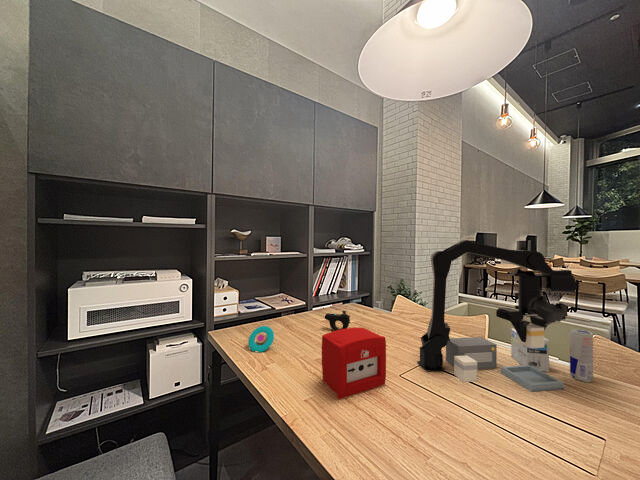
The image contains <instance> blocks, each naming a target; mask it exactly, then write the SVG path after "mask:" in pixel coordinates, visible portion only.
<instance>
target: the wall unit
mask: <svg viewBox="0 0 640 480" xmlns="http://www.w3.org/2000/svg"><path fill="white" fill-rule="evenodd" d="M449 339H450V341H449V340H448V343H447V345H446V346H445V361H446V362H447V363H448V364H449V365H451V366H452V367H453V368H454V356H464V355H467V356H469V357H470V358H472V359H474V360H475V361H477V370H484V369H485V370H488V369H497V366H498V365H497V358H498V356H497V354H498V353H497V344H496V343H494V342H492V341H490V340H489V339H486V338H484V337H482V336H477V337H475V336H473V337H472V336H471V337H452V338H451V337H449Z"/></svg>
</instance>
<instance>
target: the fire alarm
mask: <svg viewBox="0 0 640 480" xmlns="http://www.w3.org/2000/svg"><path fill="white" fill-rule="evenodd" d="M386 341H387V340H386V336H383V335H379V334H378V333H376V332H373V331H372V330H369V329H368V328H365V327H348V328H346V329H341V330H336V331H334V330H333V331H330V332H327V333H324V334H322V335H321V369H322V370H321V371H322V381H323V382H324V383H325V384H326V385H327V386H328V387H329V388H330V389H331V390H332V391H333V393H334V394H336V398H337V399H338V400H341V399H345V398H348V397H350V396H351V397H352V396H354V395H357V394H361V393H363V392H366V391H369V390H372V389H375V388H379V387H382V386H385V385H386V379H387V378H386V377H387V375H386V373H387V342H386Z"/></svg>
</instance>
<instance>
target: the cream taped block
mask: <svg viewBox="0 0 640 480" xmlns="http://www.w3.org/2000/svg"><path fill="white" fill-rule="evenodd" d="M545 331H546V330H545ZM545 331H544V327H541V326H538V325H535V324H532V323H530V324H529V325H528V326H527V333H526V342H522V341H521V339H520V337H519V336H518V343H520V344H522V345H525V346H527V347H529V348H544V338H545Z"/></svg>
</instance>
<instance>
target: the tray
mask: <svg viewBox="0 0 640 480" xmlns="http://www.w3.org/2000/svg"><path fill="white" fill-rule="evenodd" d="M500 374H502V375H503V376H505V377H507V378H508V379H510V380H512V381H513V382H515V383H516V384H518V385H520V386H521V387H523V388H525V389H526V390H528V391H529V392H533V393H534V392H547V391H558V390H559V391H560V390H565V389H564V387H565V386H564V385H565V383H564V381H563V380H560V379H558V378H555V377H554V376H552V375H550V374H548V373H546V372H545V371H540V370H538V369H536V368H534V367H532V366H530V365H524V366H522V365H511V366H501V367H500Z"/></svg>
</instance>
